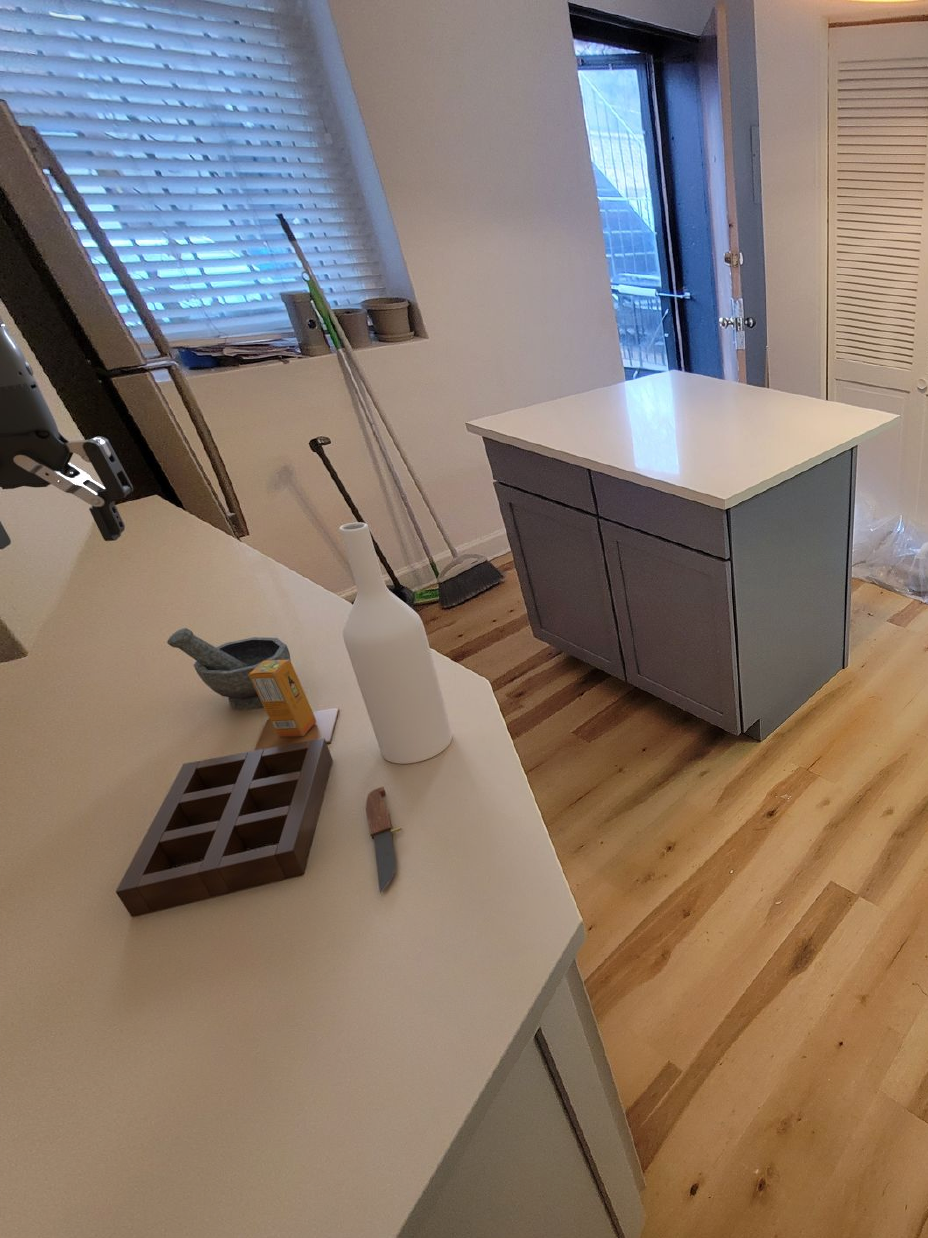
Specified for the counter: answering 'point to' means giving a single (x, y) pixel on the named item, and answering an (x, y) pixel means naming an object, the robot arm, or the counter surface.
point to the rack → (230, 826)
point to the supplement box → (283, 698)
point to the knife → (381, 835)
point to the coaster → (317, 731)
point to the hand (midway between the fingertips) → (59, 542)
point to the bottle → (392, 661)
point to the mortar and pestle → (230, 664)
